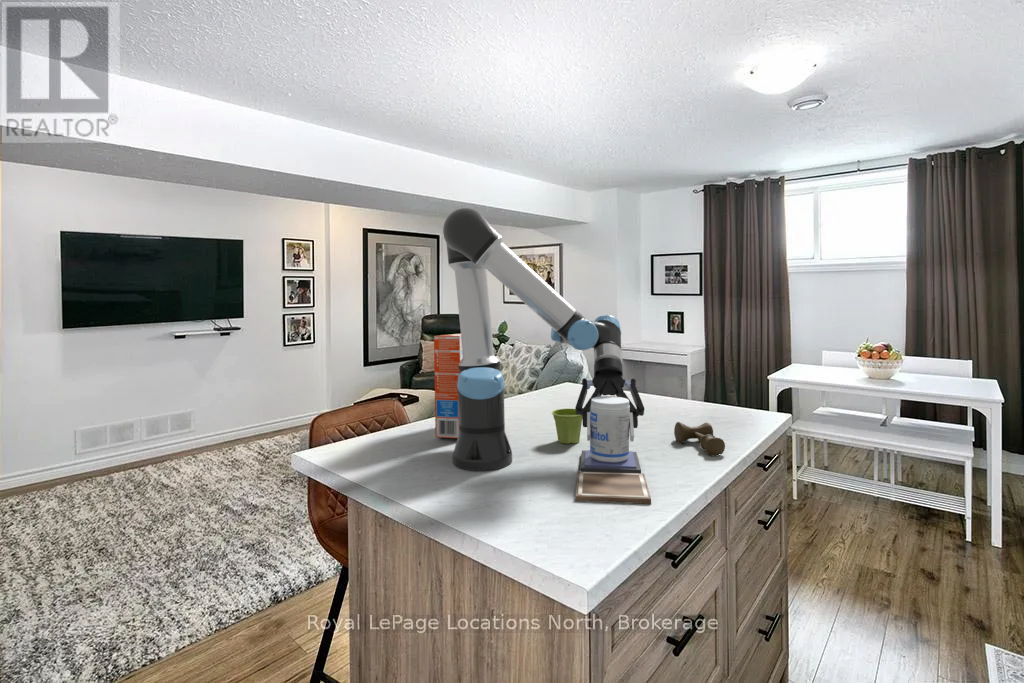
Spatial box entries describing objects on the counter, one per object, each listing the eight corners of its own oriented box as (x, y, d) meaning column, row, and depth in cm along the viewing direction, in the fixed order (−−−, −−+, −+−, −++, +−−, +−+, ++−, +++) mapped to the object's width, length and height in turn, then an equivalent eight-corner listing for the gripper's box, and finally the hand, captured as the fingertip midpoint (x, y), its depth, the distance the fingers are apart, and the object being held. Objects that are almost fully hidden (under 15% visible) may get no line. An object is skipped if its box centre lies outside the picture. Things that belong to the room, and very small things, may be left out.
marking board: (578, 475, 121) (578, 471, 121) (644, 477, 118) (644, 473, 118) (575, 500, 106) (575, 495, 106) (651, 503, 104) (651, 498, 104)
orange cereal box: (461, 438, 151) (459, 336, 150) (435, 437, 154) (433, 336, 152) (485, 422, 174) (484, 333, 172) (462, 421, 176) (461, 333, 174)
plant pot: (576, 448, 143) (576, 417, 142) (546, 443, 148) (546, 413, 147) (590, 439, 151) (590, 410, 150) (561, 435, 156) (561, 407, 155)
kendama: (697, 459, 133) (668, 436, 153) (733, 458, 134) (699, 436, 153) (699, 436, 132) (668, 416, 152) (735, 436, 133) (700, 416, 153)
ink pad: (581, 454, 136) (581, 448, 136) (636, 456, 134) (636, 450, 134) (580, 472, 123) (580, 466, 123) (641, 474, 120) (641, 468, 120)
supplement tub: (582, 459, 128) (582, 400, 126) (601, 449, 135) (601, 394, 134) (618, 466, 122) (618, 405, 120) (636, 456, 129) (636, 398, 128)
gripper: (649, 372, 140) (656, 446, 126) (567, 373, 144) (564, 445, 129) (651, 355, 134) (659, 431, 120) (565, 356, 138) (563, 429, 124)
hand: (610, 438), depth 125 cm, fingers closed on supplement tub, 10 cm apart
